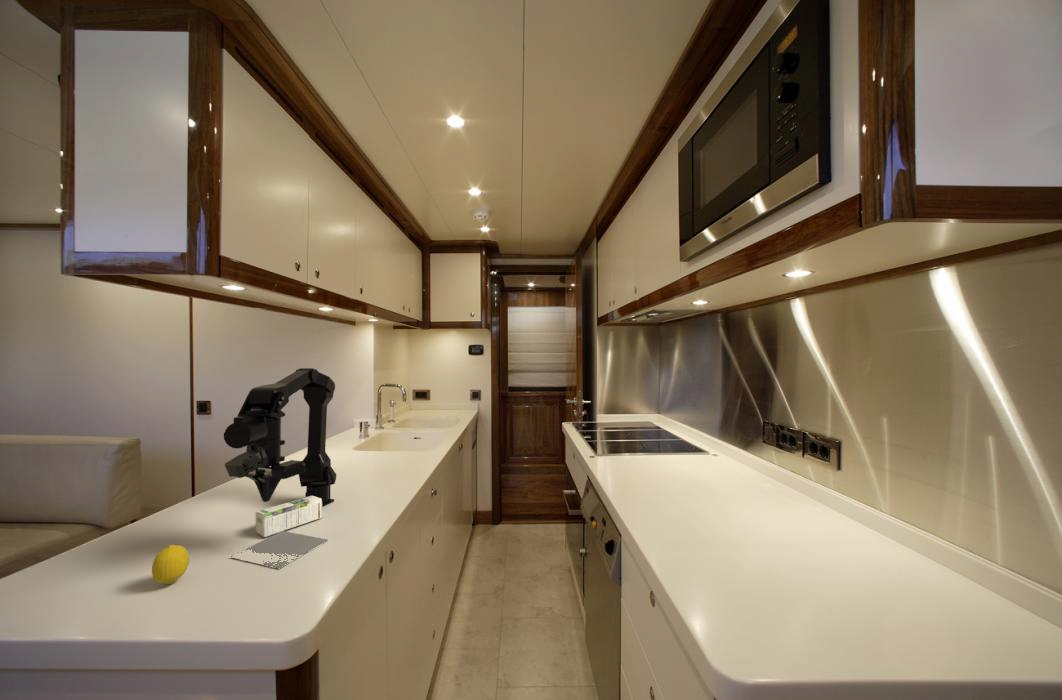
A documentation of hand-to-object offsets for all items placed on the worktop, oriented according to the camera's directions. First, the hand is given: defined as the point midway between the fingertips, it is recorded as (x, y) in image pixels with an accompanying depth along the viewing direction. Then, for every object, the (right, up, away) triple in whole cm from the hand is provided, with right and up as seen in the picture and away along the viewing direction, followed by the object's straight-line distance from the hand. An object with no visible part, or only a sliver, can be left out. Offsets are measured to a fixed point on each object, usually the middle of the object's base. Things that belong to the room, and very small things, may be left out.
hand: (266, 501), depth 92 cm
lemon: (-9, -11, -15) cm, 21 cm away
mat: (+5, -11, -2) cm, 12 cm away
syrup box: (-5, -8, +5) cm, 11 cm away
